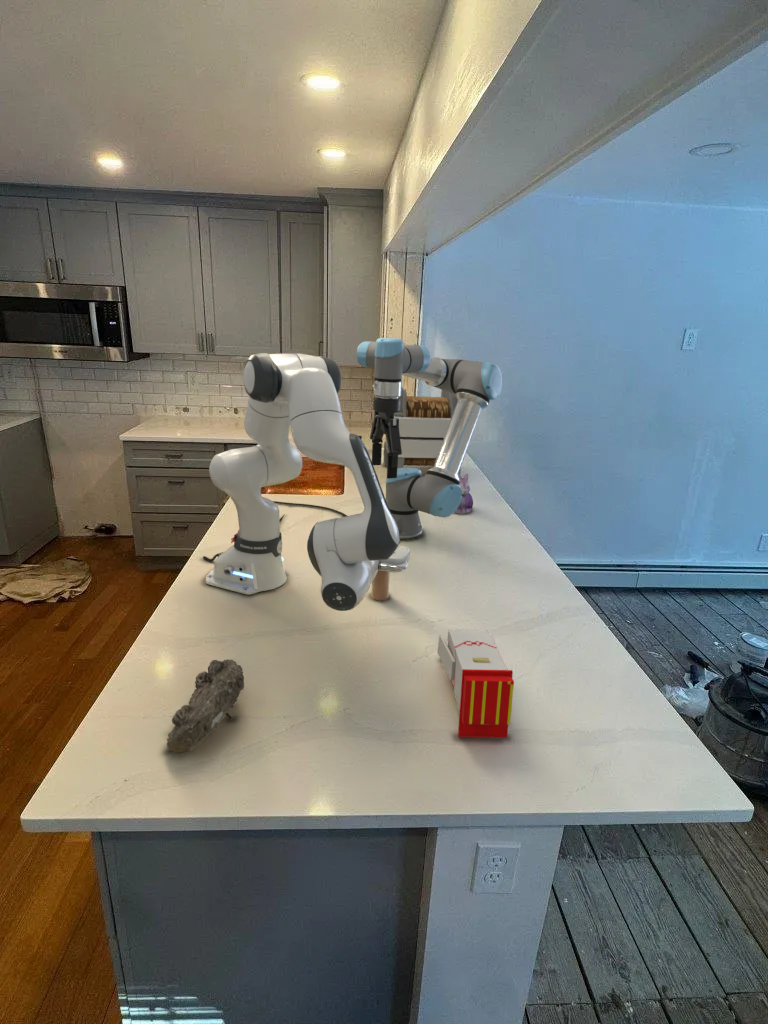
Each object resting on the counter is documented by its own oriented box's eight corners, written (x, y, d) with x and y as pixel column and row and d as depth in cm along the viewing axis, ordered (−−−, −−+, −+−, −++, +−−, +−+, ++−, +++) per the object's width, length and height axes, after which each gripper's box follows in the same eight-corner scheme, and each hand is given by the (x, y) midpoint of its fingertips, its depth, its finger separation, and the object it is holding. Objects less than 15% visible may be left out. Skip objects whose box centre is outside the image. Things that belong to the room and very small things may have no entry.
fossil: (192, 660, 117) (244, 628, 112) (224, 691, 120) (276, 661, 115) (142, 746, 98) (202, 712, 93) (182, 779, 101) (242, 748, 96)
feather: (291, 508, 223) (294, 504, 222) (274, 533, 196) (277, 528, 195) (287, 506, 222) (290, 502, 222) (270, 530, 196) (272, 526, 195)
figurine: (459, 516, 220) (463, 478, 214) (445, 507, 228) (448, 471, 223) (479, 513, 224) (483, 476, 219) (464, 505, 232) (468, 469, 227)
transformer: (382, 463, 289) (386, 382, 275) (445, 464, 293) (451, 384, 279) (390, 482, 257) (394, 392, 243) (460, 483, 261) (468, 394, 247)
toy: (488, 613, 130) (523, 677, 101) (484, 667, 133) (517, 744, 104) (435, 612, 130) (455, 676, 101) (432, 666, 133) (451, 743, 103)
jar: (388, 592, 158) (391, 526, 151) (388, 601, 154) (391, 533, 147) (371, 592, 158) (374, 525, 152) (370, 600, 154) (373, 532, 147)
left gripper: (406, 557, 122) (415, 534, 135) (315, 546, 125) (332, 524, 138) (404, 583, 124) (414, 558, 137) (315, 571, 128) (332, 548, 140)
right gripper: (360, 390, 165) (358, 460, 173) (389, 404, 143) (385, 484, 151) (385, 390, 168) (382, 459, 175) (416, 404, 146) (412, 483, 153)
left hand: (372, 541), depth 138 cm, fingers open, 8 cm apart
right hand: (383, 471), depth 163 cm, fingers open, 13 cm apart
